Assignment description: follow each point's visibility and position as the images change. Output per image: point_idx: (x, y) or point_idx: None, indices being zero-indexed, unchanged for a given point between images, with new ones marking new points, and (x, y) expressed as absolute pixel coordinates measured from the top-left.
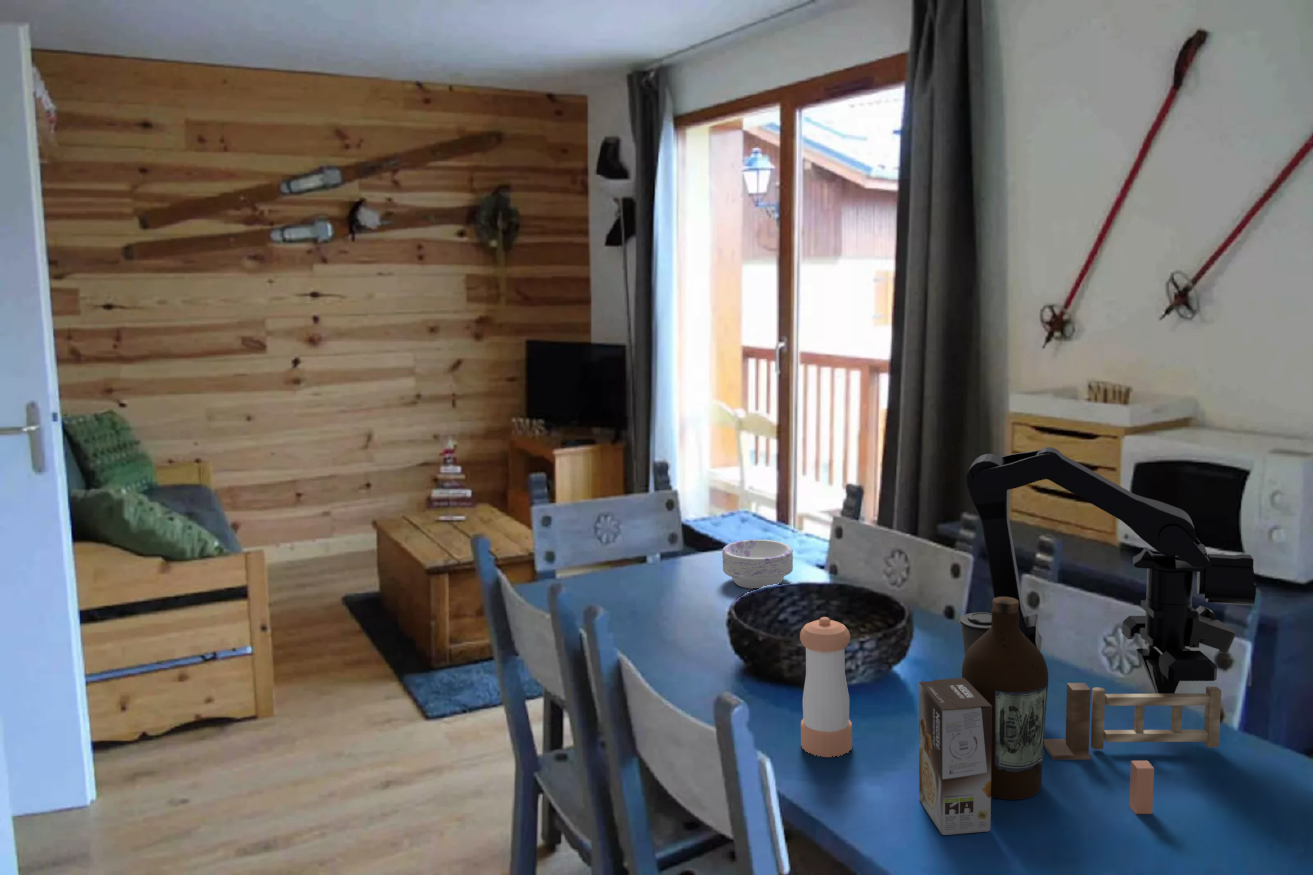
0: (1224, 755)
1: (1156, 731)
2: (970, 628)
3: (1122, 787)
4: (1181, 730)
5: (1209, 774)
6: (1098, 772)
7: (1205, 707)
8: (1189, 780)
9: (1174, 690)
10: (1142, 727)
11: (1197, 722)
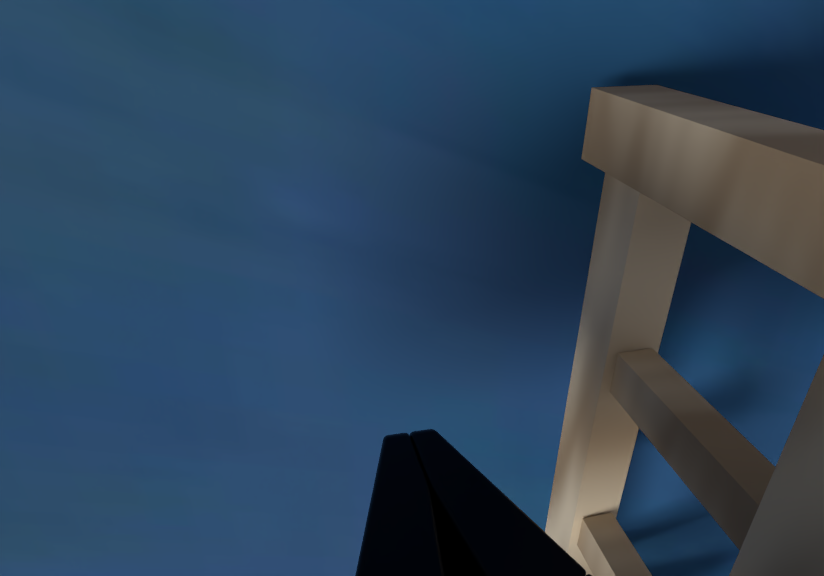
0: (665, 50)
1: (605, 458)
2: None
3: None
4: (620, 337)
5: None
6: (673, 564)
7: (789, 273)
8: (820, 317)
9: (539, 536)
10: (629, 544)
11: (123, 13)
